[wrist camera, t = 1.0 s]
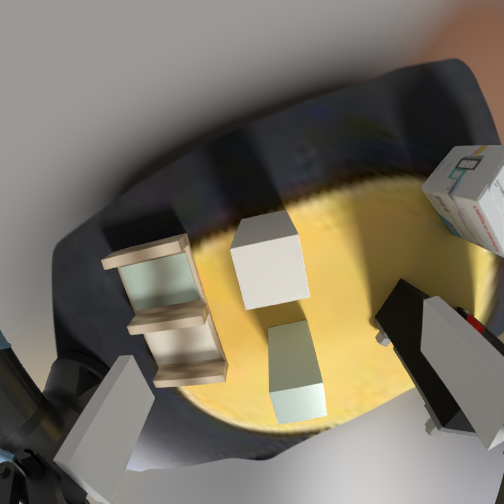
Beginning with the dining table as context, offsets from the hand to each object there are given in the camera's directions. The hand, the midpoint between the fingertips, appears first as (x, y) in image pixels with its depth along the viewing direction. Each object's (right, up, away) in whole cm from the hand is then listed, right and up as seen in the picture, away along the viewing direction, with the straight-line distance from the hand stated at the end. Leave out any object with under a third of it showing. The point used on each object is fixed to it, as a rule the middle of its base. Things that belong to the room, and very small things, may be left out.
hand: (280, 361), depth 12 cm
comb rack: (-11, -3, +25) cm, 27 cm away
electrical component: (+24, -5, +24) cm, 35 cm away
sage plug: (+4, -7, +25) cm, 26 cm away
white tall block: (+1, +6, +21) cm, 22 cm away
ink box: (+25, +13, +19) cm, 34 cm away
